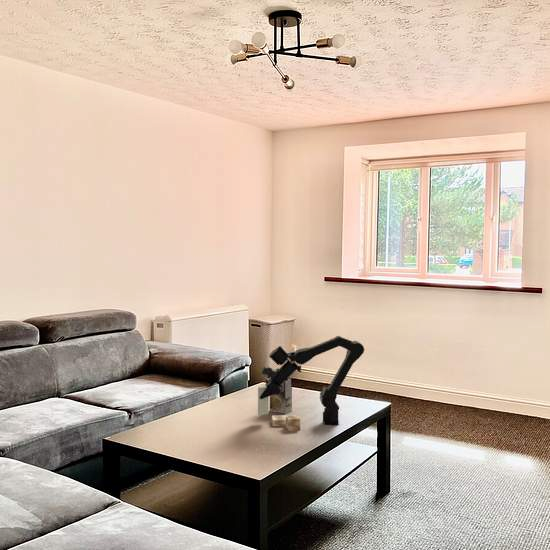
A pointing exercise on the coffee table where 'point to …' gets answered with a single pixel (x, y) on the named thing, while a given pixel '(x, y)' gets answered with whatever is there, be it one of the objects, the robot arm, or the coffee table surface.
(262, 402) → the sage block
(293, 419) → the oak cube
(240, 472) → the coffee table surface
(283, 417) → the maple slab
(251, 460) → the coffee table surface
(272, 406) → the coffee box
